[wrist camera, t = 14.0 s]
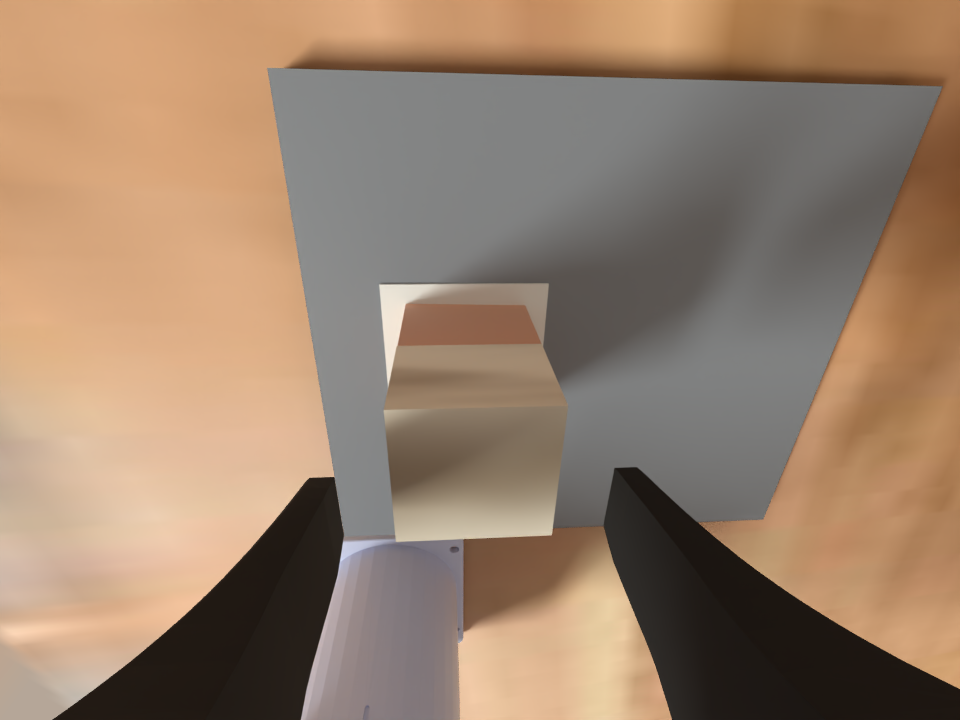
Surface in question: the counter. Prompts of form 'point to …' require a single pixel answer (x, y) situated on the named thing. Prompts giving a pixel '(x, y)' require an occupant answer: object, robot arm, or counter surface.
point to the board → (595, 256)
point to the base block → (466, 325)
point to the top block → (473, 441)
